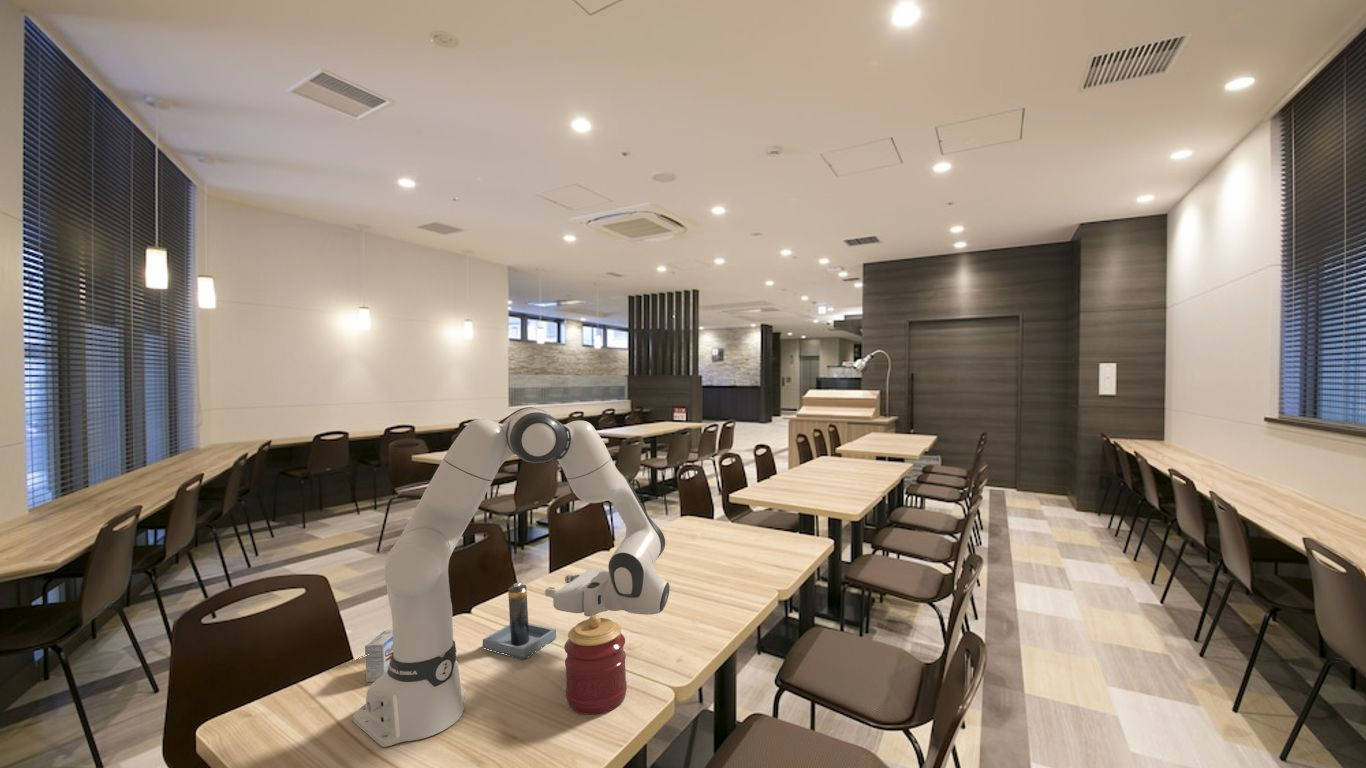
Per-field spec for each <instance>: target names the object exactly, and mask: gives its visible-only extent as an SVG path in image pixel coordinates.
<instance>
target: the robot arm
mask: <svg viewBox="0 0 1366 768" xmlns="http://www.w3.org/2000/svg"><path fill="white" fill-rule="evenodd" d="M513 456H517V457H518V458H519V459H520V460H522V461H525V462H527V463H531V464H539V463H546V462H553V461H557V462H558V463H559V465H560V466H561V469H562V471H563V473H564V475H565V478H566V480H567V483H568V484H569V486H570V489H571V491H572V492H573V493H574V494H575V496H576V497H577V499H579V500H581V501H583V502H585V503H589V504H597V503H599V504H600V503H604V502H606V501H607V502H608V501H609V502H610V503H611V504H612V505H613V506H614V508H615V510H616V511H617V513H618V515H619V517H620V518H621V520H622V521H623V523H624V525H625V529H626V530H625V536H624V538H623V539H622V541H621V543H620V544H619V545H618V547H617V548H616V550H615V551H614V552H613V554H612V556H611V558H610V559H609V562H608V569H605V568H598V567H592V568H589V569H587V570H586V571H585V572H583V573H576V574H567V575H565V577H564V582H565V583H566V585H564V586H562V587H561V588H560V589H559V588H558V589H555V587H552V586H548V587H547V588H545V590H544V592H545V593H544V595H545V596H546V597H549V598H552V600H553V607H554V609H555V610H557V611H561V612H565V613H571V614H582V613H583V614H584V616H585V617H589V618H590V617H591V616H592V615H597V614H601V613H605V612H608V611H610V612H619V611H620V612H621V611H624V612H627V613H629V614H635V615H644V616H645V615H647V616H648V615H650V616H651V615H653V616H654V615H658V614H661V612H663V610H664V609H665V607H666V605H667V602H668V599H669V595H670V583H669V581H668V580H665V579H664V578H662V576H661V575H660V574H659V573H658V571H657V570H656V569H655V564H656V562H657V560H658V559H659V558H660V556H661V555H662V553H663V552H664V550H665V548H666V539H665V535H664V533H663V532H662V531H663V530H662V529H661V528H660V527H659V526H658V525H657V524H656V522H655V521H653V520H652V518H651V517H650V516H649V514H648V512H647V510H646V509H645V507H644V505H643V504H642V502H641V500H640V498H639V497H638V496H639V495H637V493H636V491H635V490H634V488H633V486H632V484H631V482H629V480H628V478H627V477H626V475H624V474H623V473H622V472H620V471H619V470H618V468H617V466H616V465H615V463H614V460H613V459H612V457H611V454H610V452H609V450H608V448H607V446H606V444H605V442H604V441H603V439H602V437H601V436H600V434H599V432H598V431H597V430H596V428H595V426H594V425H592V423H590V422H588V421H586V420H574V421H570V422H568V423H566V424H563V423H561V422H560V421H559V420H558V419H557V418H555V417H554V416H552V415H551V414H550V413H548V412H547V411H546V410H544V409H541V408H537V407H529V406H528V407H523V408H522V407H521V408H520V409H517V410H515V411H514V412H512V413H510V414H509V415H507V416H506V417H504V418H503V419H501V420H499V421H498V422H496V421H495V420H491V419H487V418H478V419H477V418H476V419H474V420H471V421H470V422H469V423H468V424H467V425H466V426H465V427H464V428H463V429H462V430H461V432H460V433H459V434H458V436H456V438H455V439H454V441H453V443H452V444H451V445H450V447H449V448H448V450H447V452H446V454H445V455H444V457H443V458H442V460H441V462H440V463H439V465H438V467H437V469H436V470H435V472H434V474H433V475H432V478H431V479H430V481H429V483H428V484H427V487H426V489H425V490H424V491H423V494H422V496H421V498H420V499H419V501H418V504H417V506H416V507H415V510H414V511H413V513H412V515H411V517H410V519H409V521H408V522H407V524H406V526H404V529H403V531H402V533H401V535H399V537H398V538H397V541H396V542H395V543H394V545H393V546H392V547H391V548H390V550H389V551H388V554H386V558H385V561H384V567H383V569H384V570H383V574H384V575H383V576H384V582H385V584H386V585H385V586H386V592H387V597H388V598H387V599H388V602H389V608H390V613H391V623H392V624H391V625H392V627H391V628H392V630H393V652H392V653H390V654H388V655H386V656H385V657H387V656H389V655H391V656H389V657H388V658H387V659H386V660H385V661H387V660H389V659H391V660H390V663H389V667H388V670H387V671H386V672H385V673H384V674H383V675H382V676H380V677H379V678H378V679H377V680H376V681H375V682H371V684H370V686H369V687H368V689H367V691H366V695H365V704H363V705H362V706H361V707H359V709H357V710H356V711H355V713H354V714H353V715H352V722H353V723H354V724H355V725H356V726H357V727H359V728H360V729H361V730H363V732H365V733H366V734H367V735H368V736H369V737H371V739H372V740H373V741H375V742H376V743H377V744H378V745H379V746H380V747H383V748H384V747H385V748H386V747H390V746H393V745H396V744H397V745H398V744H399V743H404V742H410V741H418V740H422V739H426V738H428V737H431V736H434V735H437V734H439V733H442V732H443V731H445V730H446V729H449V727H451V726H452V725H454V724H455V723H456V722H457V721H458V720H460V718H461V716H462V715H463V713H464V710H465V707H464V699H465V697H466V692H465V691H466V690H465V689H463V688H462V684H461V683H462V682H461V675H460V670H459V668H460V667H459V663H458V661H457V646H456V642H455V640H454V630H453V624H454V623H453V604H452V598H451V591H450V589H451V588H450V582H449V581H450V579H449V564H450V558H451V556H452V554H453V552H454V550H455V548H456V547H457V544H458V543H459V541H460V539H461V537H462V536H463V534H464V533H465V531H466V529H467V527H468V526H469V524H470V523H471V522H472V519H473V517H475V515H476V513H477V511H478V510H479V507H480V506H481V503H482V502H483V500H484V498H485V496H486V494H487V492H488V490H489V489H490V487H491V485H492V483H493V482H494V480H495V477H496V476H497V475H498V472H499V469H500V467H501V466H502V465H503V464H504V463H505V461H507V460H508V459H509V458H511V457H513Z"/></svg>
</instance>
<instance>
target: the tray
mask: <svg viewBox="0 0 1366 768" xmlns="http://www.w3.org/2000/svg"><path fill="white" fill-rule="evenodd" d="M528 625H529V641H528V642H527V643H525V644H523V645H512V644H511V633H510V623H509V624H508V625H506V626H504V627H502V628H500V629H499V630H497V631H495V632H494V633H492V634H490V635H488V636H486V637H485V638H483V639H482V649H483V648H486V649H489V650H492V651H496V652H499V653H504V654H507V655H510V656H509V657H511V656H513V657H512V658H514V657H517V658H516V659H518V658H520V659H519V660H522V659H523V661H525V660H527V659H528V658H529V657H528V656H530V655H531V654H532V653H534V652H535V651H537V650H538V649H540V648H541V647H543V646H544V645H546V644H548V643H549V644H551V643H552V642H553V641H552V640H554V639H555V638H556V639H557V629H556V628H552V627H548V626H547V627H546V626H542V625H537V624H534V623H530V622H528ZM556 639H555V640H556ZM555 640H554V641H555ZM551 641H552V642H551ZM550 642H551V643H550ZM549 644H548V645H549ZM546 646H547V645H546ZM543 648H544V647H543ZM540 650H541V649H540ZM492 651H491V652H492ZM537 652H538V651H537ZM499 653H498V654H499ZM534 654H535V653H534ZM507 655H506V656H507ZM531 656H532V655H531ZM531 656H530V657H531ZM527 657H528V658H527ZM526 658H527V659H526ZM524 659H525V660H524Z"/></svg>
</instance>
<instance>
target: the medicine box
mask: <svg viewBox="0 0 1366 768" xmlns="http://www.w3.org/2000/svg"><path fill="white" fill-rule="evenodd" d="M392 652H393V629H390V630H384V631H383V632H381V633H380V634H379V635H378V636H376V637H375V638H374V639H372V641H370V642H368V643H367V644H366V645H364V658H365V660H364V661H365V682H366V683H373V682H375V681H376V680H377V679H378V678H379V677H380V676H382V675H383V674H384V673H385V672H386V671H387V670H388V667H389V663H390V660H391V659H389V660H387V661H385V660H386V659H387V658H388V657H389V656H391V655H389V656H387V657H385V656H386V655H388V654H390V653H392ZM368 654H369V655H368ZM365 655H367V656H365Z"/></svg>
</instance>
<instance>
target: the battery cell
mask: <svg viewBox="0 0 1366 768" xmlns="http://www.w3.org/2000/svg"><path fill="white" fill-rule="evenodd" d="M507 590H508V591H507V594H508V595H507V598H508V612H509V624H510V633H511V644H512V645H523V644H525V643H527V642H528V641H529V625H528V623H529V613H528V611H529V610H528V590H527V585H526V584H522V583H521V582H515V583H513V585H512V586H510V587H508V589H507Z"/></svg>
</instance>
